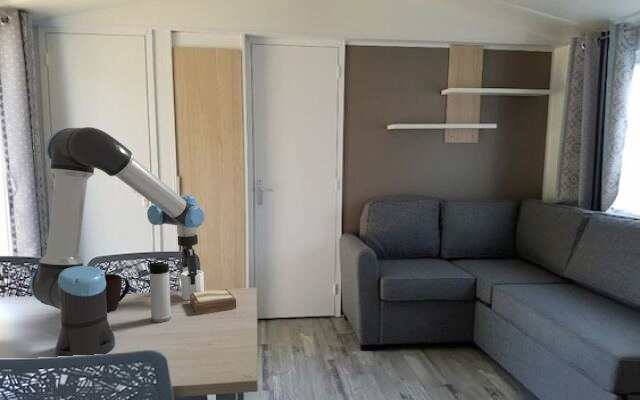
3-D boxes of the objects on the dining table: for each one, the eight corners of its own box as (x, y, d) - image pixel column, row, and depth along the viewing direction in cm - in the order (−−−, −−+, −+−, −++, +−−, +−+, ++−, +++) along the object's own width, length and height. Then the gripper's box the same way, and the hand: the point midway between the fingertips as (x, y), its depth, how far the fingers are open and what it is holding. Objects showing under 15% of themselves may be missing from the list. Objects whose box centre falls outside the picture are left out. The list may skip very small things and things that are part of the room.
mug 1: (85, 311, 157) (83, 279, 156) (121, 300, 169) (119, 270, 167) (101, 317, 152) (99, 283, 150) (136, 305, 163) (135, 274, 162)
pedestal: (236, 308, 160) (236, 298, 160) (197, 314, 154) (196, 303, 154) (226, 297, 173) (226, 287, 172) (190, 302, 167) (190, 292, 166)
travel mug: (146, 321, 148) (144, 263, 146) (161, 314, 154) (159, 259, 152) (159, 324, 145) (157, 265, 143) (174, 317, 151) (172, 261, 149)
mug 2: (208, 295, 175) (207, 271, 174) (192, 301, 167) (191, 276, 166) (186, 291, 181) (186, 267, 180) (170, 296, 173) (169, 272, 172)
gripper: (203, 239, 162) (205, 295, 164) (191, 228, 184) (193, 277, 187) (182, 241, 159) (185, 298, 161) (173, 230, 181) (175, 280, 183)
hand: (189, 287), depth 174 cm, fingers open, 13 cm apart
